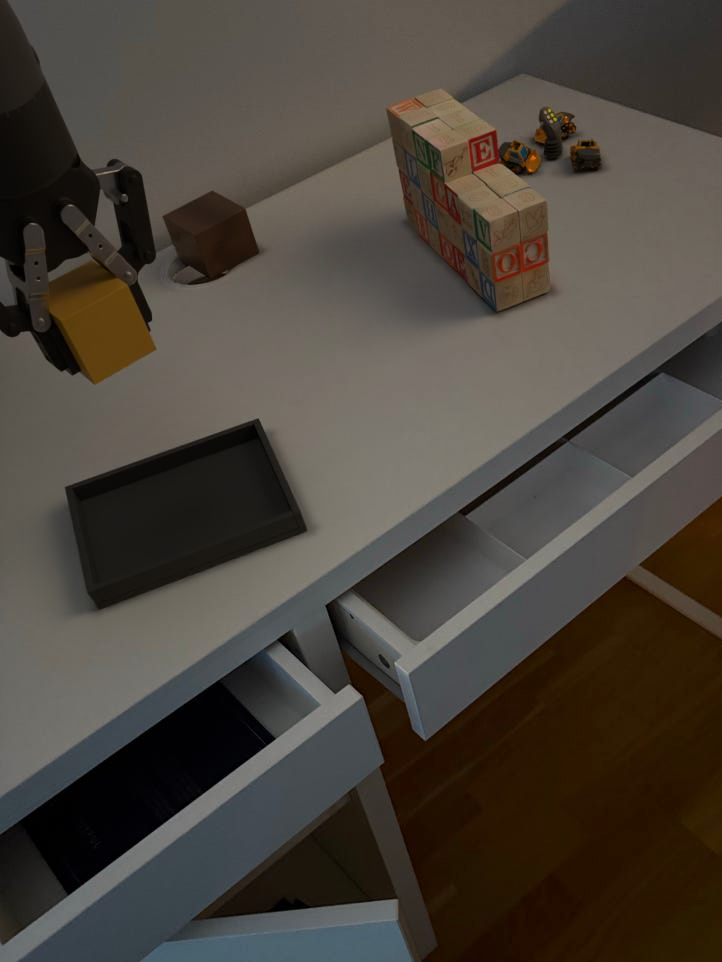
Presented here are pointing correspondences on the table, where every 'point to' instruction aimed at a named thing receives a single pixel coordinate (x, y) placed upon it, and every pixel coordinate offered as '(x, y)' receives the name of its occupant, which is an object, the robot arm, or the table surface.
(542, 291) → the stack of blocks
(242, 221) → the base block
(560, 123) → the toy set
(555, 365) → the table surface
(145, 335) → the top cube
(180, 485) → the tray
